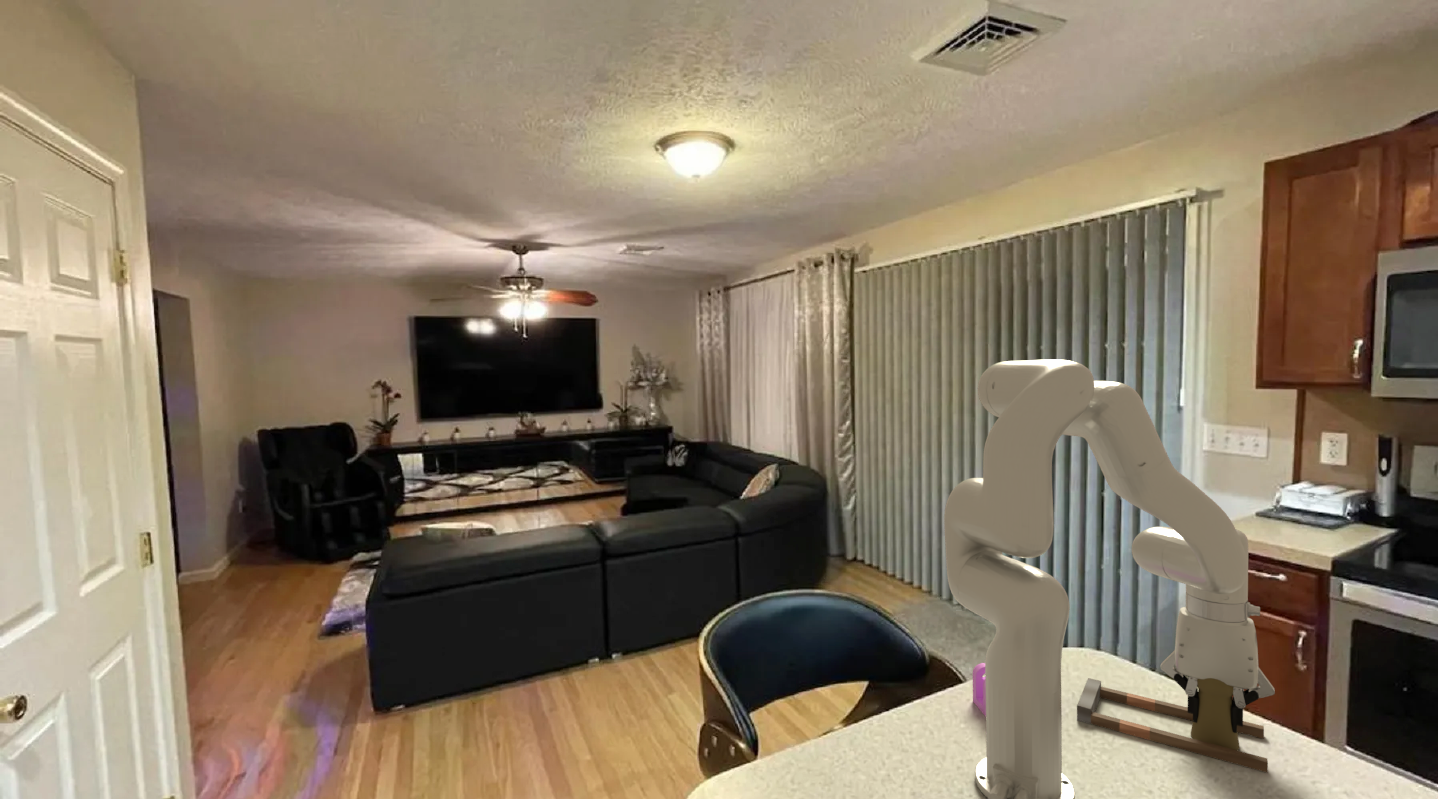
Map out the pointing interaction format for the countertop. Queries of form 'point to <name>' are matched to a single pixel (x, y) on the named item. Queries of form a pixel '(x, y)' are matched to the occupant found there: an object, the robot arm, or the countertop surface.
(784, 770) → the countertop surface
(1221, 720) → the cork
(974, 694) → the bracket
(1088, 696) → the guide channel
